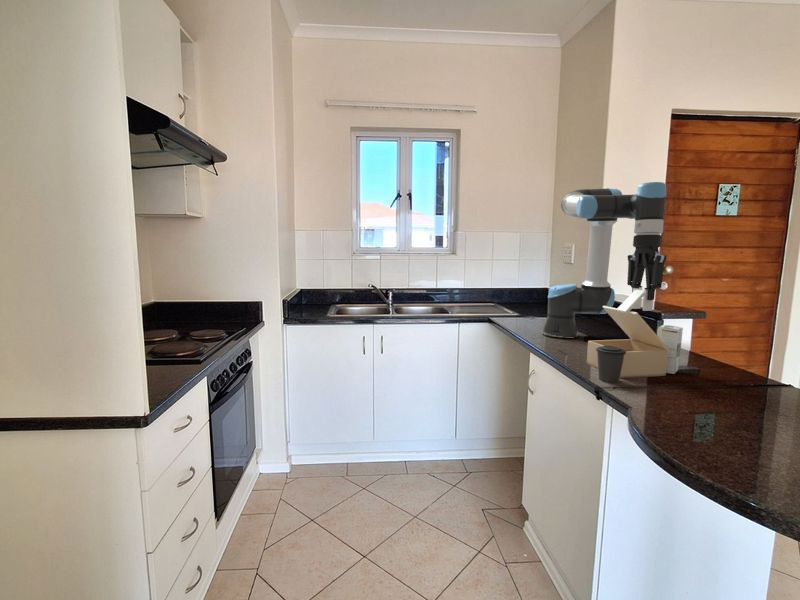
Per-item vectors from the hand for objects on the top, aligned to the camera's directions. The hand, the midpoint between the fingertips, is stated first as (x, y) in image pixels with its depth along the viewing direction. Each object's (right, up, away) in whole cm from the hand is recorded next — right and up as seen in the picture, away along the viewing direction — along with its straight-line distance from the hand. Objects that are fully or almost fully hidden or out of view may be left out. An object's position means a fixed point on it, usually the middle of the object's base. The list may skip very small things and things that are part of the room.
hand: (641, 309), depth 125 cm
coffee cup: (-14, -21, -6) cm, 26 cm away
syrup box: (+10, -20, +3) cm, 23 cm away
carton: (-3, -20, +5) cm, 20 cm away
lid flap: (-1, -6, +3) cm, 7 cm away
